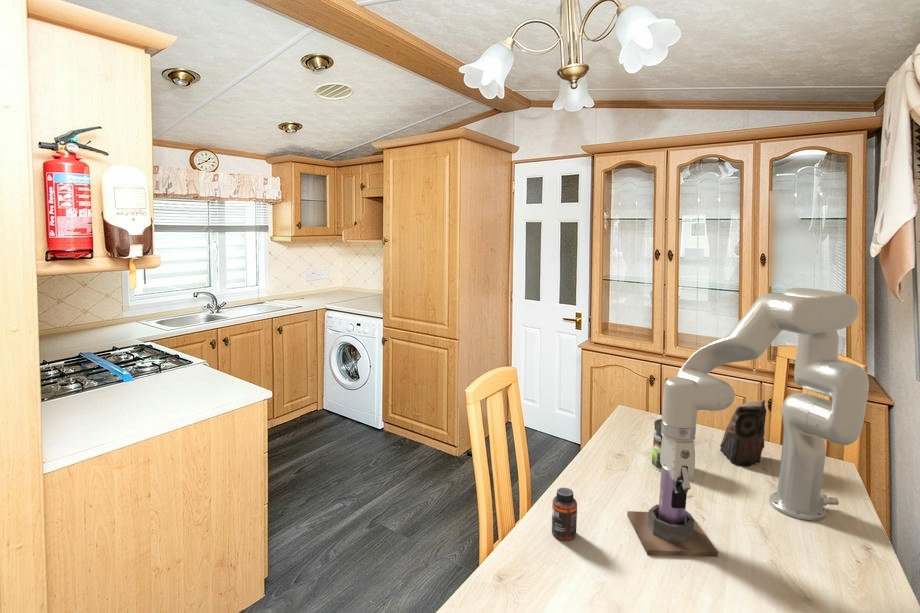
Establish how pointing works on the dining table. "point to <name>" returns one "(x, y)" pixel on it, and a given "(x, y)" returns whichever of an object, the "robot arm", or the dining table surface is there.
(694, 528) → the can holder
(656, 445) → the coffee can
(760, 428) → the owl
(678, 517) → the beverage can
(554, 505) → the supplement bottle
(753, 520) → the dining table surface
